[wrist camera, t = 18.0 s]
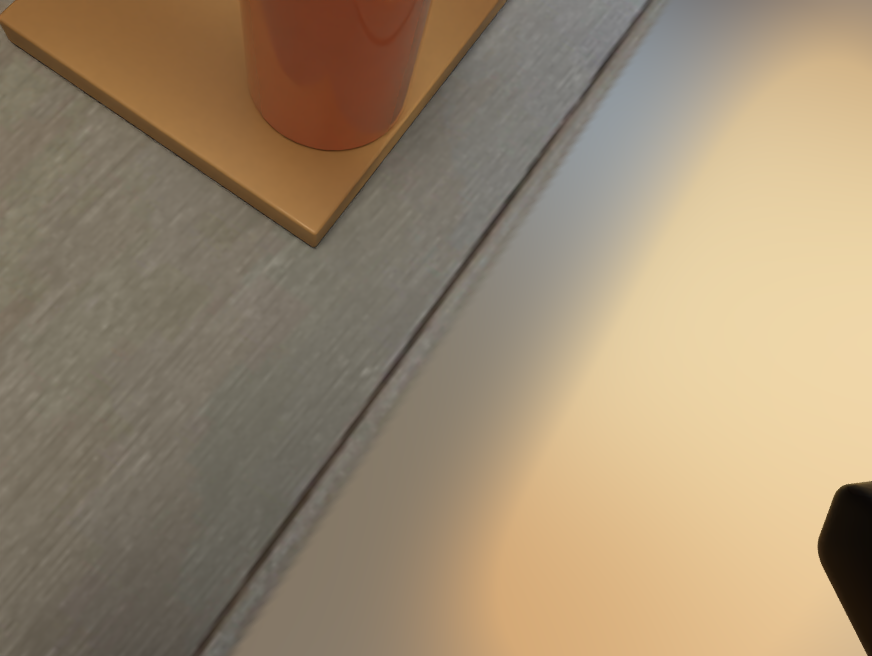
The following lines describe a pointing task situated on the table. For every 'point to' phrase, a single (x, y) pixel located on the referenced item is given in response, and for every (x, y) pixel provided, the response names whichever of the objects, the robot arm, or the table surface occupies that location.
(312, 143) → the orange knobbed cylinder
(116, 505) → the table surface
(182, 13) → the low shelf board
